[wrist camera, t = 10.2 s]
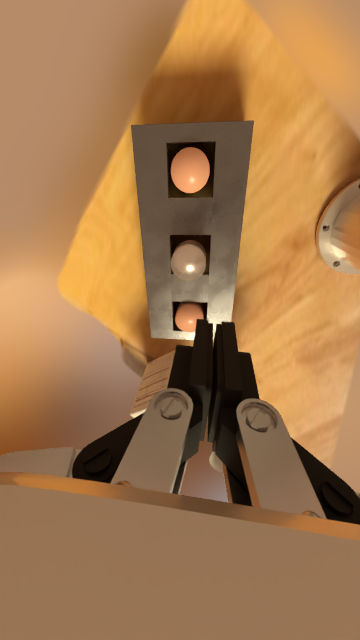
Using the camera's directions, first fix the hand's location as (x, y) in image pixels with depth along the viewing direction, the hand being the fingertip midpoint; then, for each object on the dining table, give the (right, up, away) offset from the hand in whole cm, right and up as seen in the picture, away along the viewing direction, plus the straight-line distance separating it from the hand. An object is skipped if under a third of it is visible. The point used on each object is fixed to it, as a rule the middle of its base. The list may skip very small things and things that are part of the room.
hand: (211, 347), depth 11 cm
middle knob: (0, +9, +18) cm, 21 cm away
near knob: (0, +18, +16) cm, 24 cm away
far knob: (0, +3, +25) cm, 25 cm away
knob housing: (0, +12, +24) cm, 27 cm away
